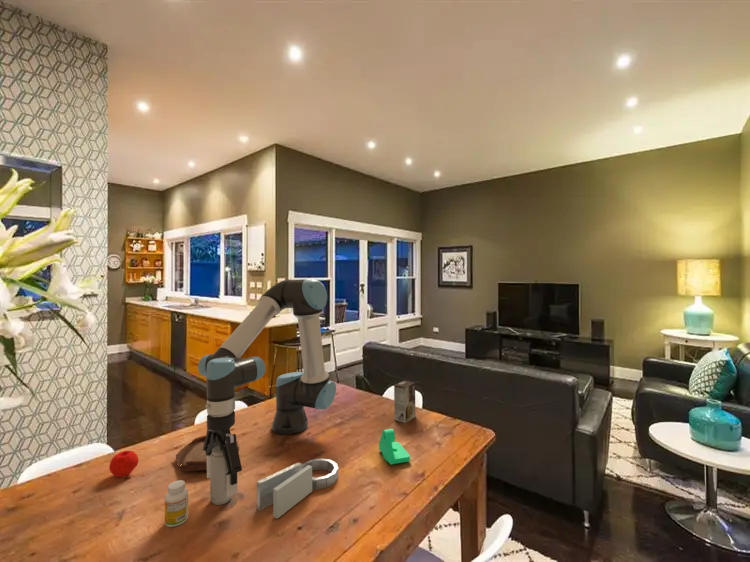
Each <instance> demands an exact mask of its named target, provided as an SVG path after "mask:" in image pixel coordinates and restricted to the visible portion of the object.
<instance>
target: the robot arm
mask: <svg viewBox="0 0 750 562" xmlns="http://www.w3.org/2000/svg"><path fill="white" fill-rule="evenodd" d="M327 302H328V293H327V289H326V286H325V285H324V284H323V283H322V282H321V281H320V280H318V279H310V278H306V279H305V278H302V279H299V278H298V279H285V280H281V281H279V282H277V283H275V284H274V285H273V286H271V287H270V288H269V289H267V290H266V291H265V292H264V293H263V294H262V295H261V296H260V297H259V298H258V303H257V305H256V306H255V307H254V308H253V309H252V310H251V311H250V312H249V314H248V315H247V316H246V317H245V318H244V319H243V321H242V322H240V324H239V325H238V326H237V327H236V328H235V329H234V330H233V332H232V333H231V334H230V335H229V336H228V337H227V339H225V341H223V343H222V344H221V345H220V347H219V348H218V349H217V350H216V351H215V352H214V353H210V354H206V355H205V354H204V356H202V357H201V359H200V360H199V361H198V365H197V369H198V373H199V374H200V375H201V376H203V377H205V378H206V404H205V409H206V414H207V416H206V434H205V436H206V438H205V442H204V447H203V450H204V451H206V455H207V470H206V479H210V455H211V453H212V450H213V448H214V447H216V446H218V445H219V448H220V450H221V451H222V452H223V455H224V459H225V462H226V466H227V469H228V472H227V473H226V475H227V497H230V496H232V497H233V496H235V495H236V494H238V493H239V492H238V491H239V489H238V487H239V486H238V485H239V484H238V483H239V482H238V473H239V472H242V470H243V468H242V463H241V457H240V454H239V452H238V447H237V443H238V442H237V443H236V441H237V434H236V433H233V434H232V432H231V428H232V427H233V426H234V425H235V423H236V412H235V410H236V388H238V387H241V386H244V385H247V384H249V383H253V382H256V381H257V380H260V379H261V378H262V377H264V375H265V373H266V363H265V361H264V360H263V359H262V358H261V357H260V356H249V357H248V358H247V357H246V358H243V357H242V356H243V354H244V353H245V352H246V350H247V349H248V348H249V347H250V346H251V344H252V343H253V342H254V341H255V339H256V338H257V337H258V336H259V335H260V333H261V332H262V331H263V329H264V328H265V327H266V326H267V324H269V322H270V321H271V320H272V318H273V317H275V316H277V315H279V314H280V313H281V312H282V311H283V310H285V309H292V313H293V316H294V317H295V318H296V319H297V323H298V331H299V332H298V333H299V340H300V350H301V360H302V369H303V372H302V371H293V372H287V373H283V374H281V375H279V376H277V378H276V381H275V400H276V401H275V404H276V405H275V406H276V408H275V409H276V411H275V414H274V417H273V420H272V425H271V430H272V432H273V433H275V434H277V435H294V434H298V433H301V432H303V431H306V429H307V428H308V426H309V420H308V417H307V414H306V411H305V407H306V408H309V409H310V408H311V409H315V410H322V411H324V410H326V409H328V408H330V406H331V405H332V404H333V402H334V400H335V397H336V395H337V385H336V383H335V381H332V380H331V379H330V374H329V372H328V371H327V370H325V369H326V368H325V360H324V359H325V358H324V350H323V349H324V348H323V341H322V340H323V339H322V329H321V321H320V319H321V318H320V315H321V314H322V313H323V309H324V308H325V307H326V305H327Z"/></svg>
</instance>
